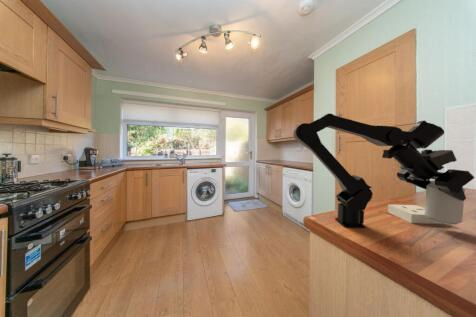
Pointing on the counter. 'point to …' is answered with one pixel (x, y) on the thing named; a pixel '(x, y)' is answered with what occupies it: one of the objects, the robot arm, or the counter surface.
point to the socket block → (411, 213)
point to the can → (442, 206)
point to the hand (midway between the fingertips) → (449, 195)
